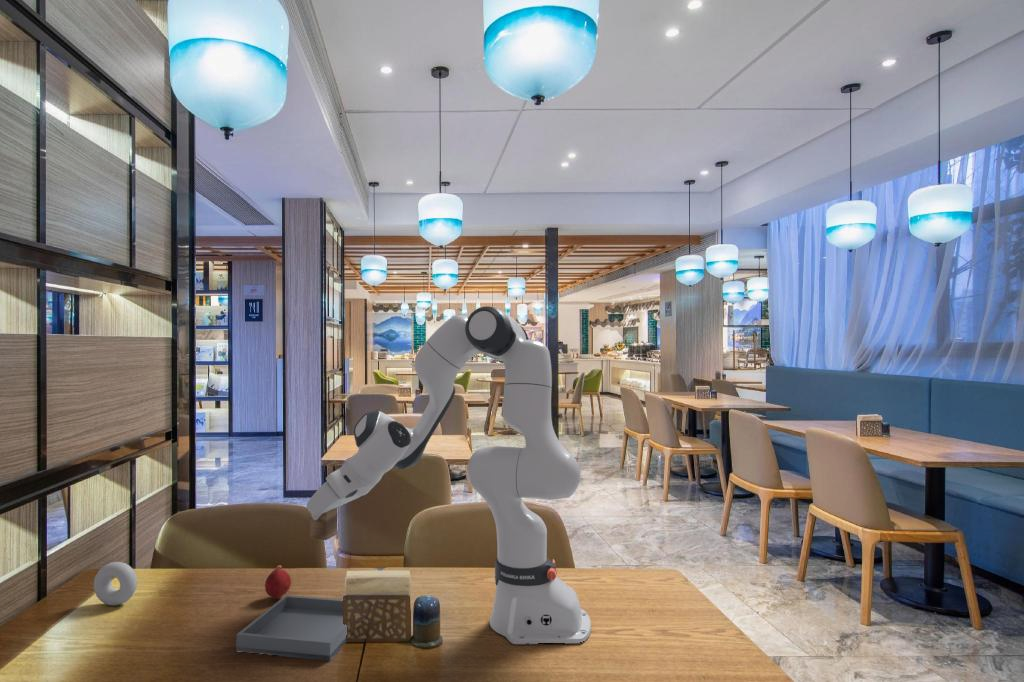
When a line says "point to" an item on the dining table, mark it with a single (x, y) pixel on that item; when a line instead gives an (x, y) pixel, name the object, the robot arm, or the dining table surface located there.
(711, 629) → the dining table surface
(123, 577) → the donut
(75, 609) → the dining table surface
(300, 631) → the tray
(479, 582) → the dining table surface
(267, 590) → the onion
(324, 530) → the walnut block
